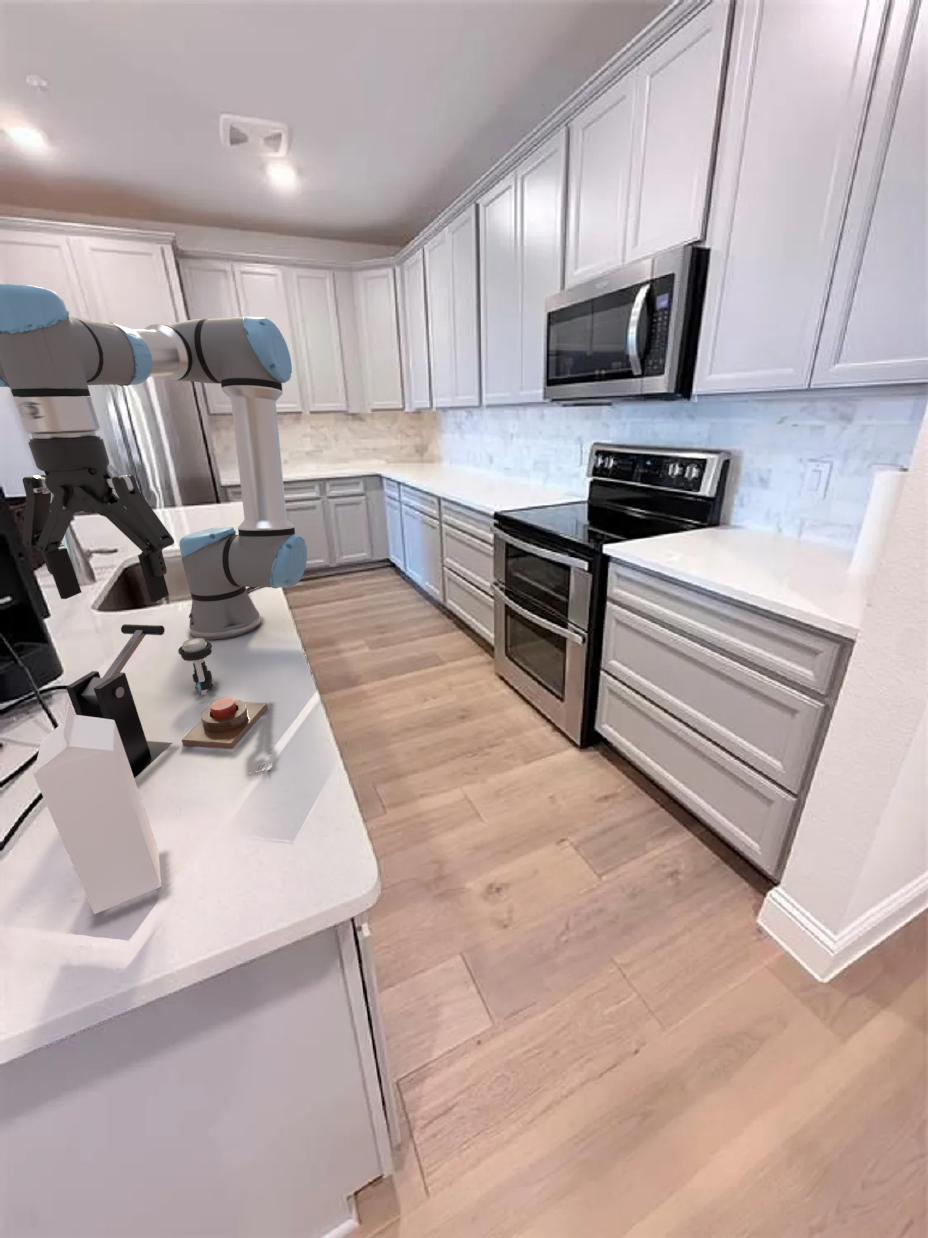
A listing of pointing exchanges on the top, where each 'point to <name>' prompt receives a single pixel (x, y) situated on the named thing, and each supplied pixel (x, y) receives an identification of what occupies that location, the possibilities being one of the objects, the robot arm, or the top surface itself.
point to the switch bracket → (118, 717)
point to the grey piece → (198, 662)
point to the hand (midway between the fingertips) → (115, 597)
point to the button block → (225, 726)
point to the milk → (98, 810)
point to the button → (223, 708)
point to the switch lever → (122, 655)
